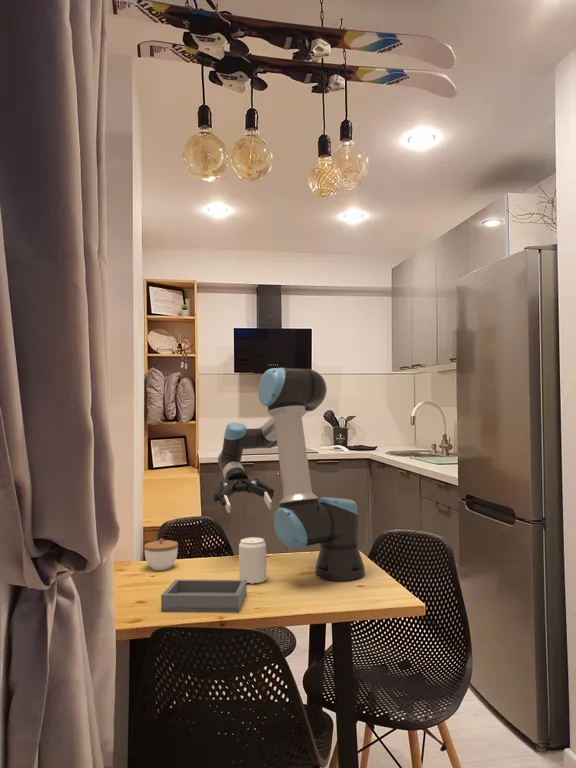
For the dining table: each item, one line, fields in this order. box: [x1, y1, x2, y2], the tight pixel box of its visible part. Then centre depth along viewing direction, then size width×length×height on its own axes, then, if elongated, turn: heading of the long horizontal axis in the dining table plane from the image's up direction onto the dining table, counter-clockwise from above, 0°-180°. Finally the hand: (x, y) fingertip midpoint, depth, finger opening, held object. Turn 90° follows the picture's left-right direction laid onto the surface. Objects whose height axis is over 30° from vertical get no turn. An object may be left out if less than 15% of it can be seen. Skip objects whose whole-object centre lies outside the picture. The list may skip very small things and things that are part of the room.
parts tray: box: [160, 579, 248, 613], centre depth 145 cm, size 20×13×4 cm, turn 86°
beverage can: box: [238, 536, 268, 585], centre depth 164 cm, size 8×8×12 cm
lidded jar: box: [143, 538, 179, 571], centre depth 179 cm, size 11×11×9 cm
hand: (250, 507), depth 175 cm, fingers open, 13 cm apart
